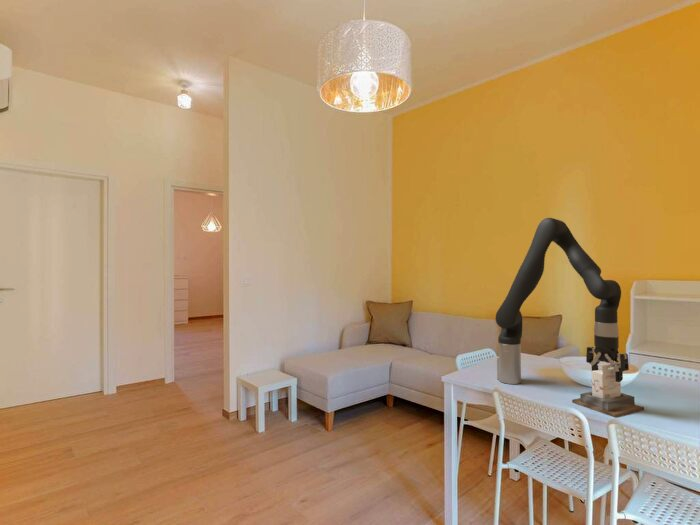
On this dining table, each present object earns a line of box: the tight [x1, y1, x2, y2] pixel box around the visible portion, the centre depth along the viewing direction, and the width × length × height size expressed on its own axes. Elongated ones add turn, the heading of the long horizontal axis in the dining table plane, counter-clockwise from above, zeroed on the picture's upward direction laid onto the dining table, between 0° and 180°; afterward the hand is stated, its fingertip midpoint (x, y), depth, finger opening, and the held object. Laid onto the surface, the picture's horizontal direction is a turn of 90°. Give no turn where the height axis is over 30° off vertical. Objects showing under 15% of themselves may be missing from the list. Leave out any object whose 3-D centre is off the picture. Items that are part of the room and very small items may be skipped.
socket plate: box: [571, 390, 645, 418], centre depth 145 cm, size 16×16×4 cm
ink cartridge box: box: [591, 363, 622, 400], centre depth 146 cm, size 9×5×15 cm, turn 107°
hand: (606, 378), depth 146 cm, fingers open, 8 cm apart
